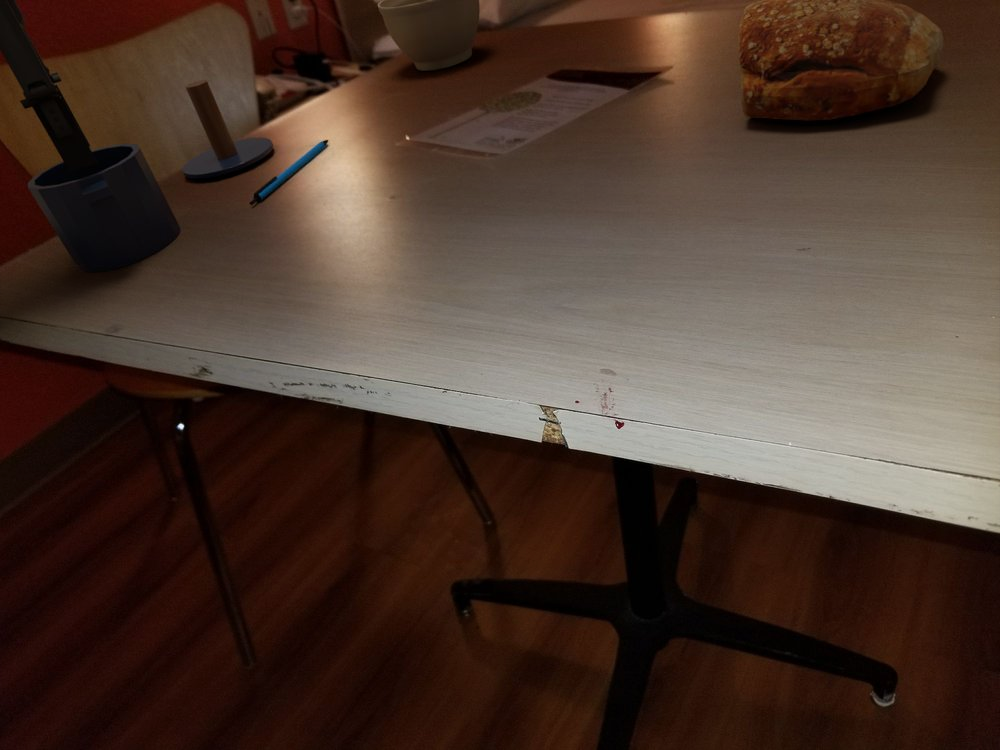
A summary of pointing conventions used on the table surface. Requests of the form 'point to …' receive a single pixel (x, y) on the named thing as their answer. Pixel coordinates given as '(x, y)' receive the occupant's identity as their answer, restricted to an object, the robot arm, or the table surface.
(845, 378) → the table surface
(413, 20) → the planter bowl
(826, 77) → the bread
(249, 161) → the lid
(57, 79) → the robot arm
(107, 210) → the pot
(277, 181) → the pen
